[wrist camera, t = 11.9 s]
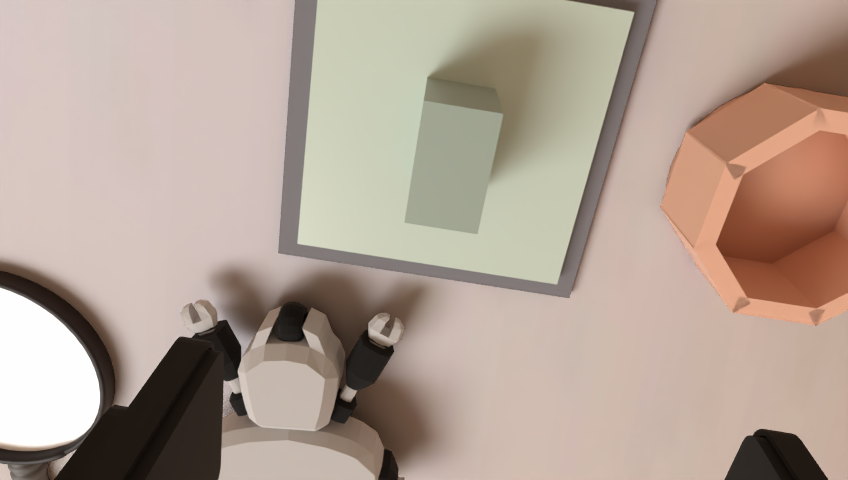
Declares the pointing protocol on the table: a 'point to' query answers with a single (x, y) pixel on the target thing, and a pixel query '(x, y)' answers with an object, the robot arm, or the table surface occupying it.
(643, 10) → the mat
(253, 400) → the robot toy
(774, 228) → the bowl
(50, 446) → the magnifying glass
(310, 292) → the table surface
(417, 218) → the cover
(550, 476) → the table surface
